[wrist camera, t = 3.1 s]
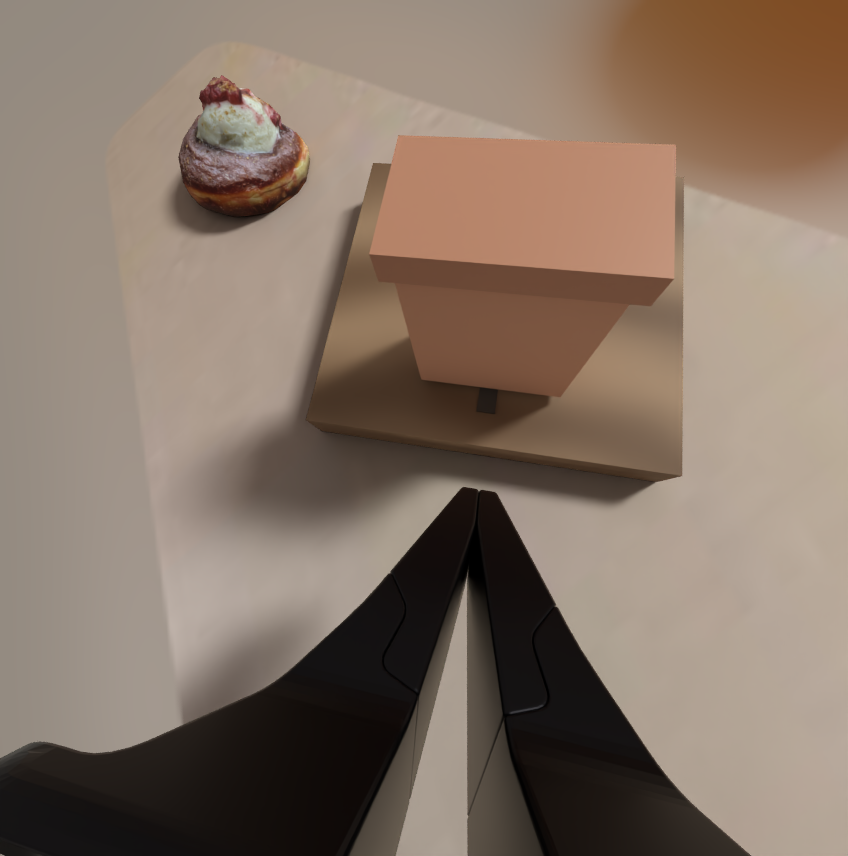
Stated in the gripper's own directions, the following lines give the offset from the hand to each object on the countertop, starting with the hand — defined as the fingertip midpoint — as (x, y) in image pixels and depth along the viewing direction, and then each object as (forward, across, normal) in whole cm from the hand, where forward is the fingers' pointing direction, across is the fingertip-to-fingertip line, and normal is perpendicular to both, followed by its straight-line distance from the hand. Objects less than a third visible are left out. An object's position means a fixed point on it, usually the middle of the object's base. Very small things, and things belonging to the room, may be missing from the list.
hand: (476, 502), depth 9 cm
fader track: (+13, 0, -1) cm, 13 cm away
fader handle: (+9, 0, 0) cm, 9 cm away
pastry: (+20, +17, -7) cm, 27 cm away
